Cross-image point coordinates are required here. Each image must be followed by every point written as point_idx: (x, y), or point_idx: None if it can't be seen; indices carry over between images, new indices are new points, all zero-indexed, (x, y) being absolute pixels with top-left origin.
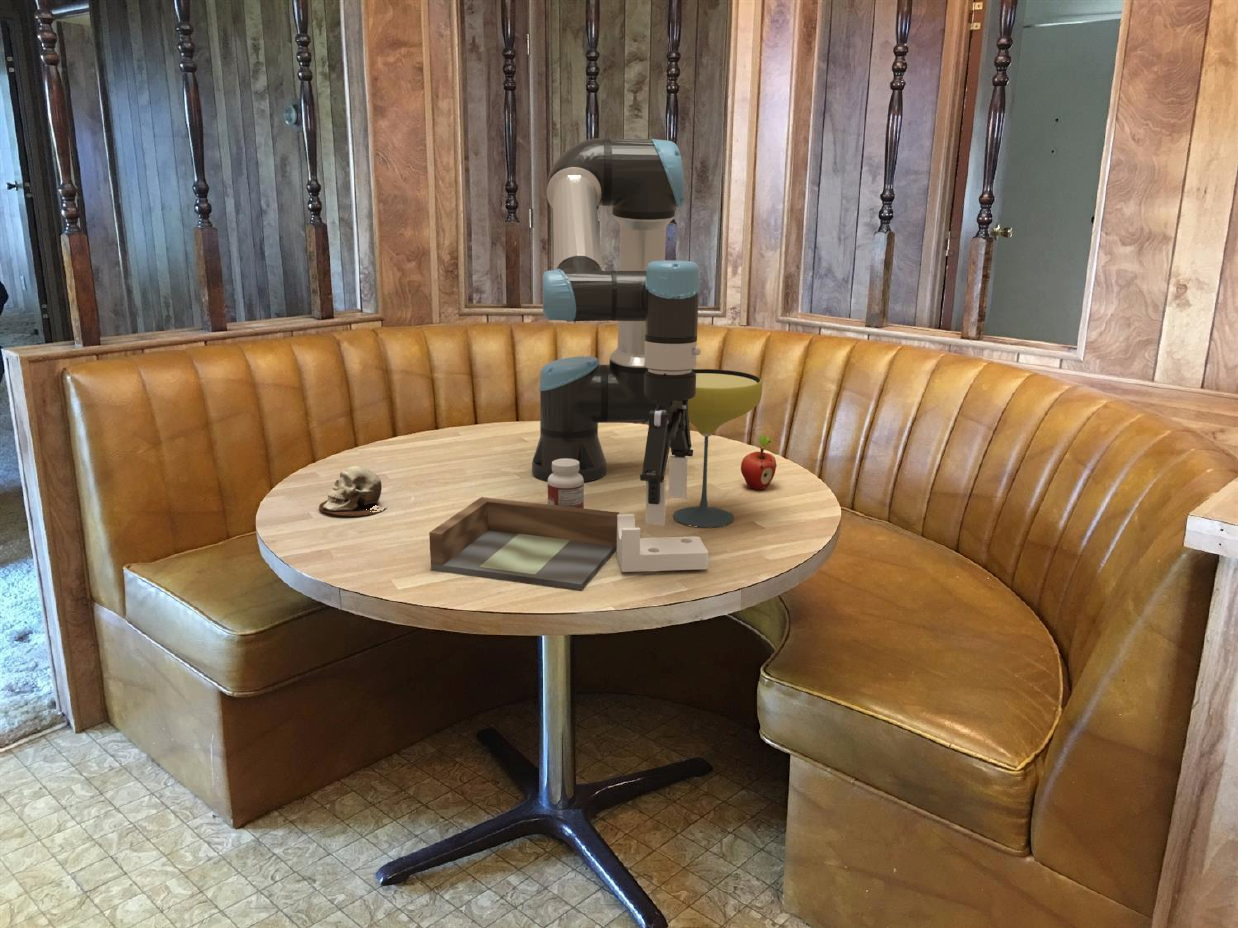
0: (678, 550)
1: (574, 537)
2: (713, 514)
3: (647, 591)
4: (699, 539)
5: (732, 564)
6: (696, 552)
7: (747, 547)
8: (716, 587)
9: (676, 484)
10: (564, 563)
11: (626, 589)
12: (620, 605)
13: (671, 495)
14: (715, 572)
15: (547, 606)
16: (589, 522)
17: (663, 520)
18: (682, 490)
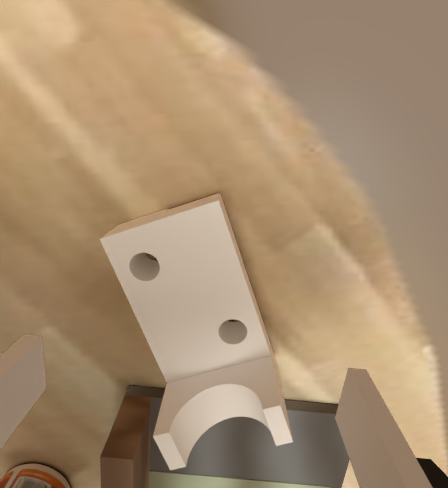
0: (220, 277)
1: (147, 471)
2: None
3: (344, 300)
4: (123, 235)
5: (148, 135)
6: (224, 232)
7: (14, 103)
8: (302, 161)
9: (9, 405)
10: (266, 458)
11: (339, 338)
12: (416, 336)
13: (40, 384)
14: (211, 172)
15: (426, 439)
16: (138, 484)
17: (372, 383)
18: (23, 367)
